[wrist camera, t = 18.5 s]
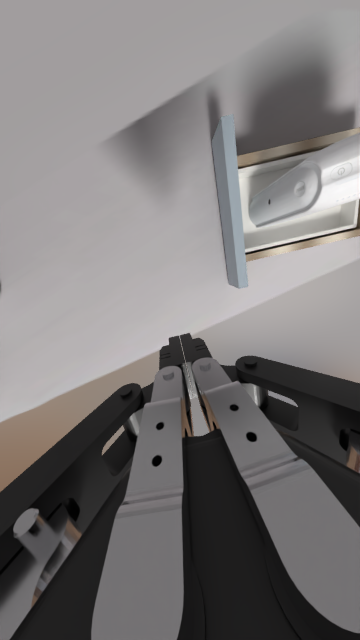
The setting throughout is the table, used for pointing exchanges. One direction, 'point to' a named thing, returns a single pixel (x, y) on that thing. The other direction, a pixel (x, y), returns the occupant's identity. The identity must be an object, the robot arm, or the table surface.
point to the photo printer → (311, 185)
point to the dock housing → (292, 151)
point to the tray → (237, 197)
